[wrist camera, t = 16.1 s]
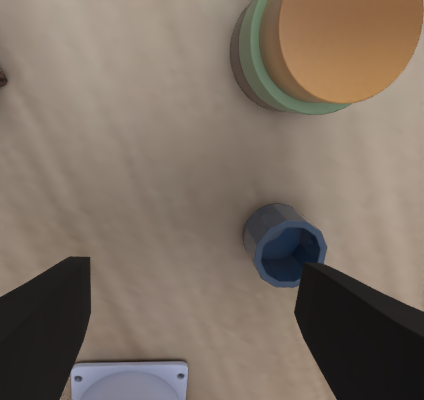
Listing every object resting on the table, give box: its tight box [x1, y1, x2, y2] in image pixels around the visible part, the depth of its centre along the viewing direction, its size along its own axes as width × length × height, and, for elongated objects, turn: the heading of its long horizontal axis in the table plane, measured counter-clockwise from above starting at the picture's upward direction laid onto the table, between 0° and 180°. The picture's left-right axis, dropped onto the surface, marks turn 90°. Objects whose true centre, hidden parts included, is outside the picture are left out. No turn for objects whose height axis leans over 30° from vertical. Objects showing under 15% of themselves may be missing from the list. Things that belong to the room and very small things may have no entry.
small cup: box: [243, 204, 327, 288], centre depth 20 cm, size 4×4×3 cm
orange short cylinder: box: [259, 0, 424, 104], centre depth 13 cm, size 5×5×3 cm
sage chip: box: [239, 0, 352, 115], centre depth 15 cm, size 6×6×2 cm
